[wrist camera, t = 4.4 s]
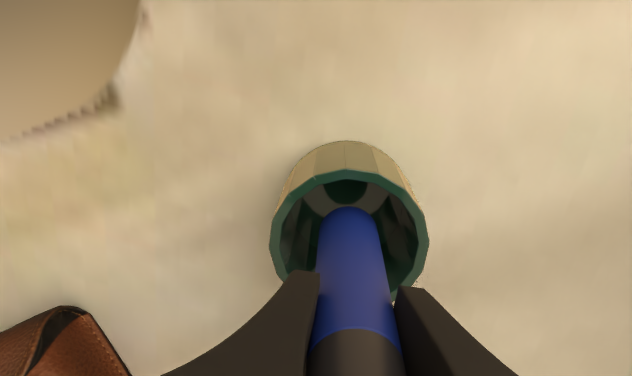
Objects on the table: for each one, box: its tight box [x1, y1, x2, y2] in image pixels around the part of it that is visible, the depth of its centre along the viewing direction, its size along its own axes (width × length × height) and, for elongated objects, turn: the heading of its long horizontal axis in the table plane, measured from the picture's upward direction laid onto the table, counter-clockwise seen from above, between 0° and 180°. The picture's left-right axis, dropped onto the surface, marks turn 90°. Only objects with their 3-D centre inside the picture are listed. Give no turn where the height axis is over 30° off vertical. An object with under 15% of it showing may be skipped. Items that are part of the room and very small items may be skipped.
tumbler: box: [269, 141, 429, 302], centre depth 17 cm, size 5×5×4 cm
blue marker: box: [305, 206, 407, 376], centre depth 12 cm, size 2×2×8 cm
